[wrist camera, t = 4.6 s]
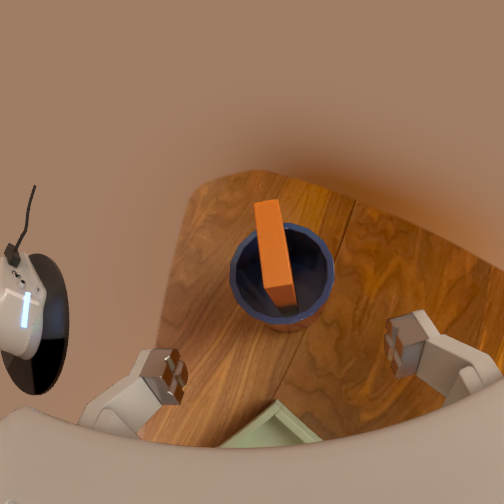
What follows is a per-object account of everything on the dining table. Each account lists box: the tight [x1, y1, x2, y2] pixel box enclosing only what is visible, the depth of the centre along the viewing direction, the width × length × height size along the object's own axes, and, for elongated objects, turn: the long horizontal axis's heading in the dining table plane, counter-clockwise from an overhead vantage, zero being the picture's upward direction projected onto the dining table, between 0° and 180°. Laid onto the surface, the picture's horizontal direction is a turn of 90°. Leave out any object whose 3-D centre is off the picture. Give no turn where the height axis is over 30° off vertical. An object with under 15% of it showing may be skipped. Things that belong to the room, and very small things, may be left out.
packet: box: [253, 199, 299, 317], centre depth 20 cm, size 1×5×14 cm, turn 6°
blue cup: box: [229, 223, 335, 332], centre depth 23 cm, size 7×7×9 cm
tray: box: [216, 399, 323, 448], centre depth 18 cm, size 19×14×3 cm
